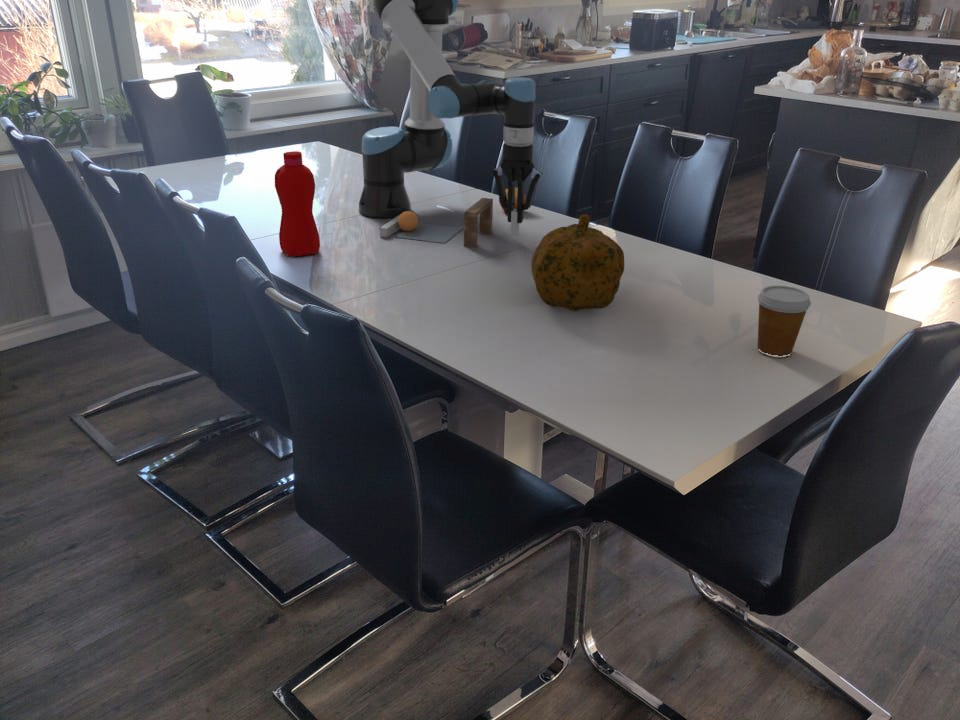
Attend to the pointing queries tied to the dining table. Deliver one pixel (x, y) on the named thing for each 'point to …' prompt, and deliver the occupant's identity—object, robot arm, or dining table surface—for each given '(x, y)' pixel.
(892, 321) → the dining table surface
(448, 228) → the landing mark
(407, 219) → the ball
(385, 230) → the wall
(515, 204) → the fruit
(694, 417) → the dining table surface
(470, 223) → the bridge
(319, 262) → the dining table surface
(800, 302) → the disposable coffee cup
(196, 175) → the dining table surface
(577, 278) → the decorative pumpkin
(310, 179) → the water bottle
